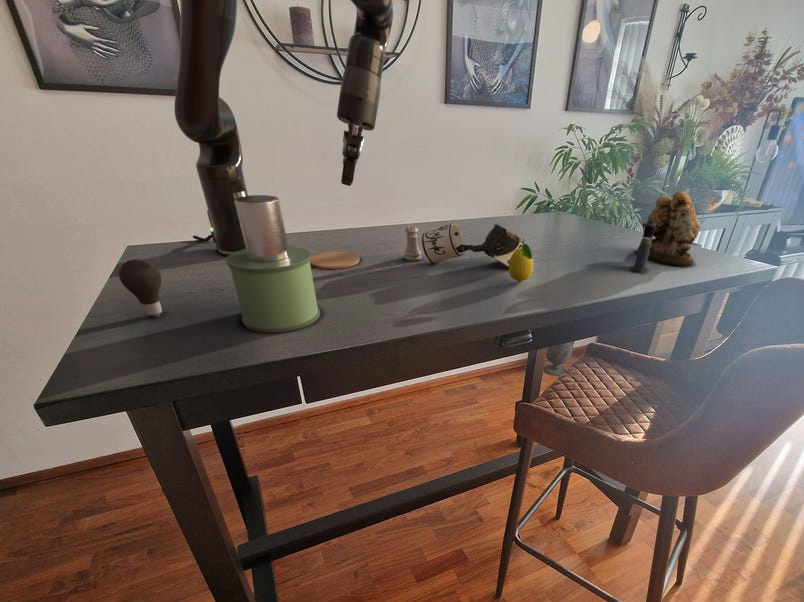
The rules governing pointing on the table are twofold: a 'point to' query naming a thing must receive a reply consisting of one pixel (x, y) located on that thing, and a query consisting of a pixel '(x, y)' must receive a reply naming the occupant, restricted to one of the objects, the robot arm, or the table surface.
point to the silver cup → (262, 227)
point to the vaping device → (644, 247)
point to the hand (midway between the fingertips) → (346, 183)
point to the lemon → (521, 263)
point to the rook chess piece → (412, 244)
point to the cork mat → (334, 260)
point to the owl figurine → (673, 230)
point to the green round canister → (275, 291)
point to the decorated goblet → (451, 245)
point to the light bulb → (143, 283)
